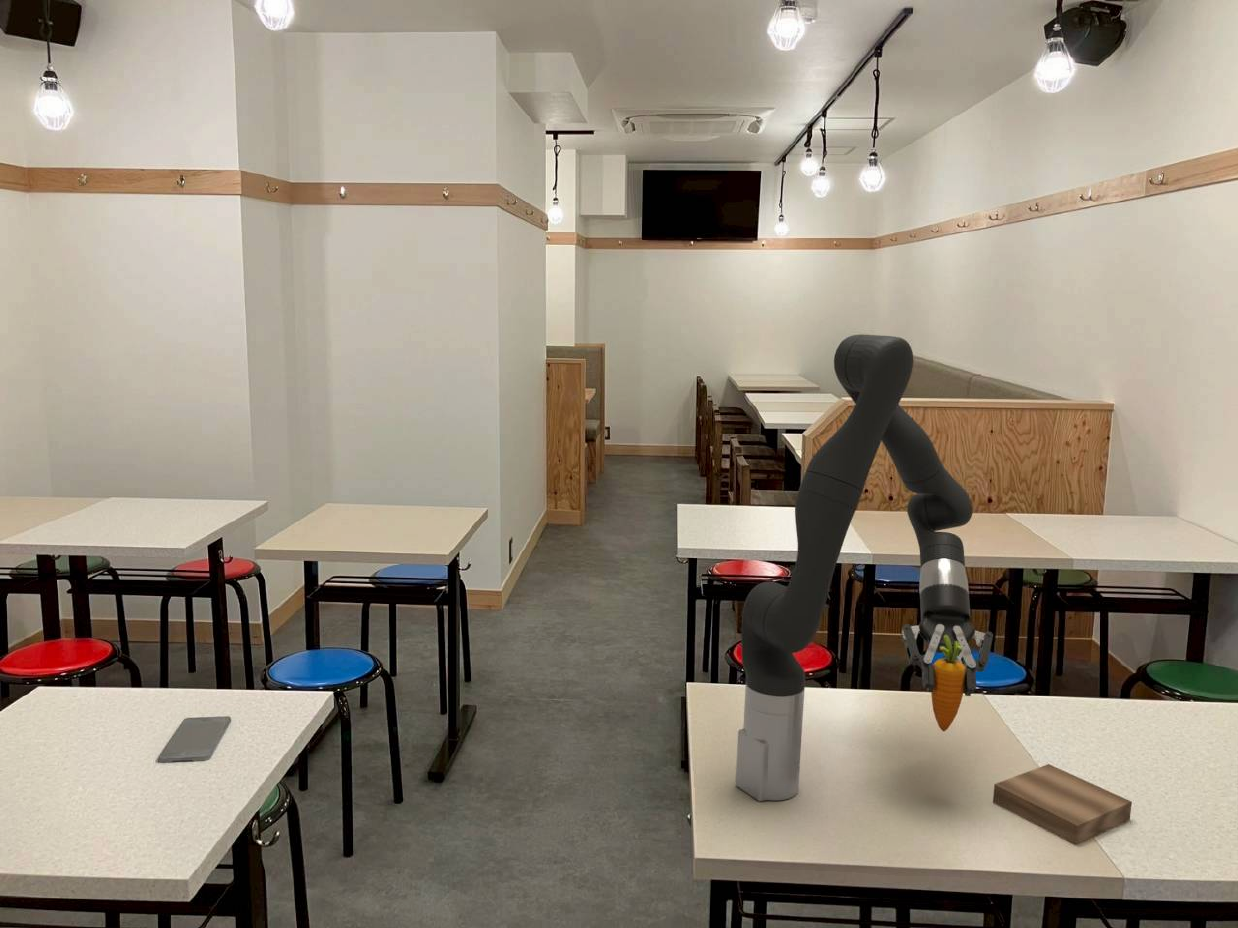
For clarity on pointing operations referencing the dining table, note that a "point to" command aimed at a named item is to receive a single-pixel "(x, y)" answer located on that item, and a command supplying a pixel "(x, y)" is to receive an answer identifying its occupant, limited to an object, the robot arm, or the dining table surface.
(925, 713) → the dining table surface
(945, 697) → the carrot
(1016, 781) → the walnut plinth
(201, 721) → the phone
